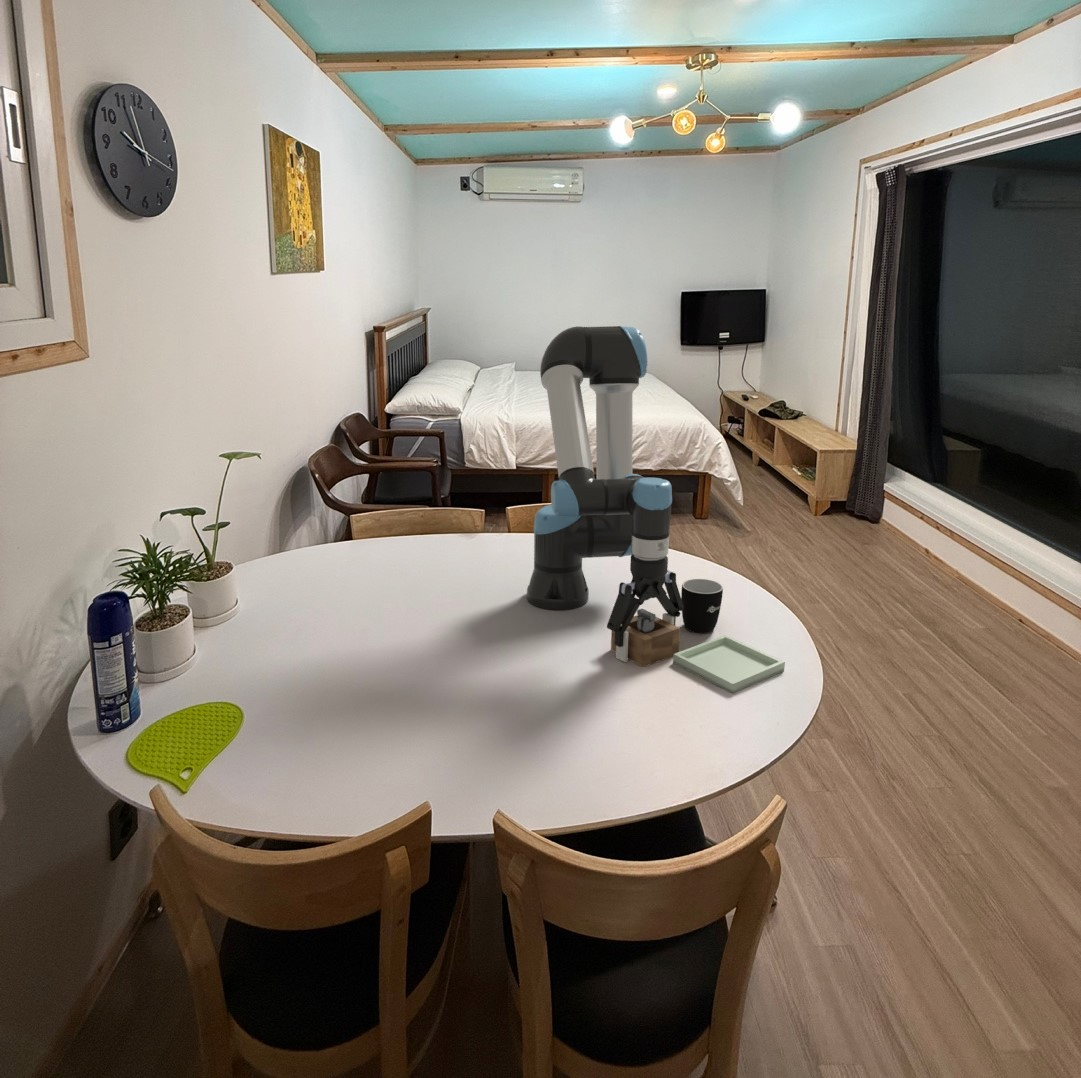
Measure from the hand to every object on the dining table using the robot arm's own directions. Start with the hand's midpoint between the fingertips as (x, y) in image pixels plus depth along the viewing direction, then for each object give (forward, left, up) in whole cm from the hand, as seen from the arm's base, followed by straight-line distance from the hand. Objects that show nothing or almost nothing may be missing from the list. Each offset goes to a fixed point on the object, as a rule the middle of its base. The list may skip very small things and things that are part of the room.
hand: (644, 651), depth 169 cm
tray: (+15, +9, 0) cm, 17 cm away
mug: (-2, +20, 0) cm, 20 cm away
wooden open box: (0, 0, 0) cm, 0 cm away
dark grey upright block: (0, 0, 0) cm, 0 cm away
